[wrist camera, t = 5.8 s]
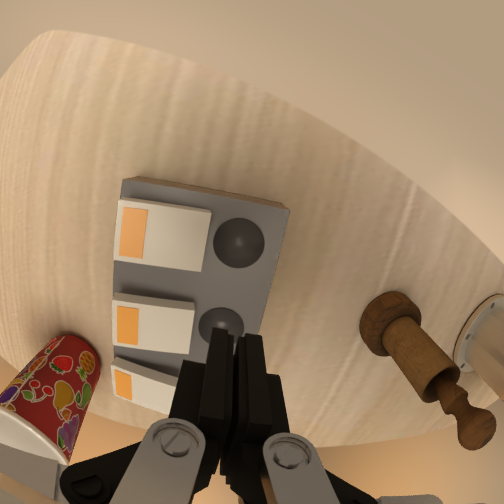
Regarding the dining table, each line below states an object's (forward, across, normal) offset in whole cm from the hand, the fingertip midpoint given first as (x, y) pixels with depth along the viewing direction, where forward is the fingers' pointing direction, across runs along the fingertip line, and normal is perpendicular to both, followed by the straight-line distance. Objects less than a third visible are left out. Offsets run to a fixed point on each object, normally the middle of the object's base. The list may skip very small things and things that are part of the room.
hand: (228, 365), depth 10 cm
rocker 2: (+12, +5, +13) cm, 18 cm away
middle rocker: (+12, +5, +6) cm, 14 cm away
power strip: (+15, +3, +6) cm, 17 cm away
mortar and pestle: (+16, -17, +5) cm, 24 cm away
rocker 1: (+12, +5, -1) cm, 13 cm away
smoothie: (+15, +15, +16) cm, 27 cm away
